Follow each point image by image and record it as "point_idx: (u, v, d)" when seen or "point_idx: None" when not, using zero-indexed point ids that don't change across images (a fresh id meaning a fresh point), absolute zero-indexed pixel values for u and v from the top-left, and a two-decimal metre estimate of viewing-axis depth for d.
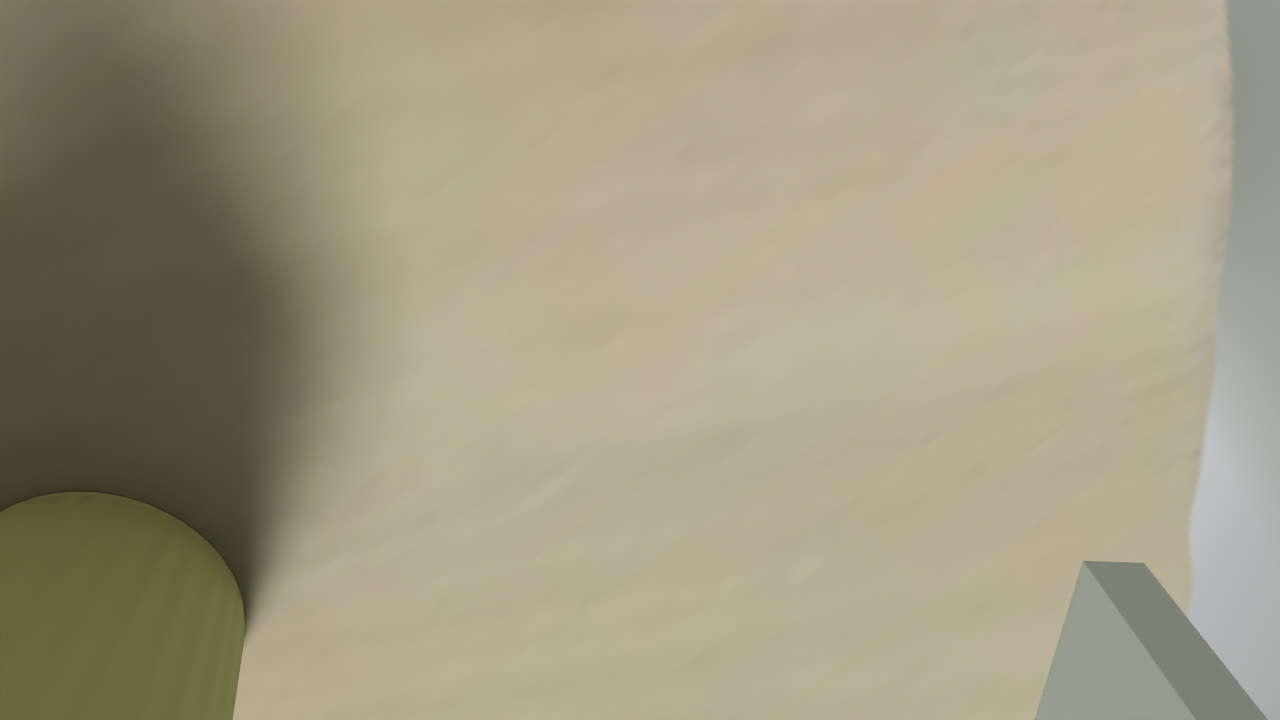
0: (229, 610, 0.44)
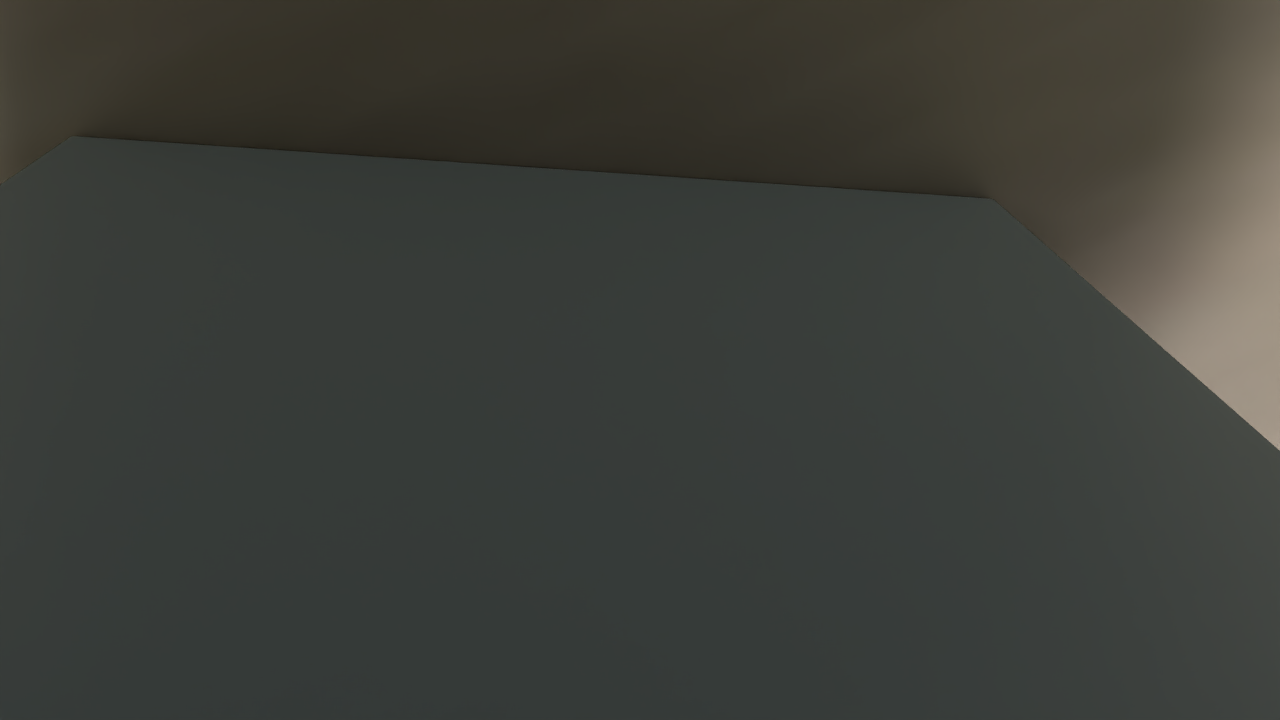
0: None
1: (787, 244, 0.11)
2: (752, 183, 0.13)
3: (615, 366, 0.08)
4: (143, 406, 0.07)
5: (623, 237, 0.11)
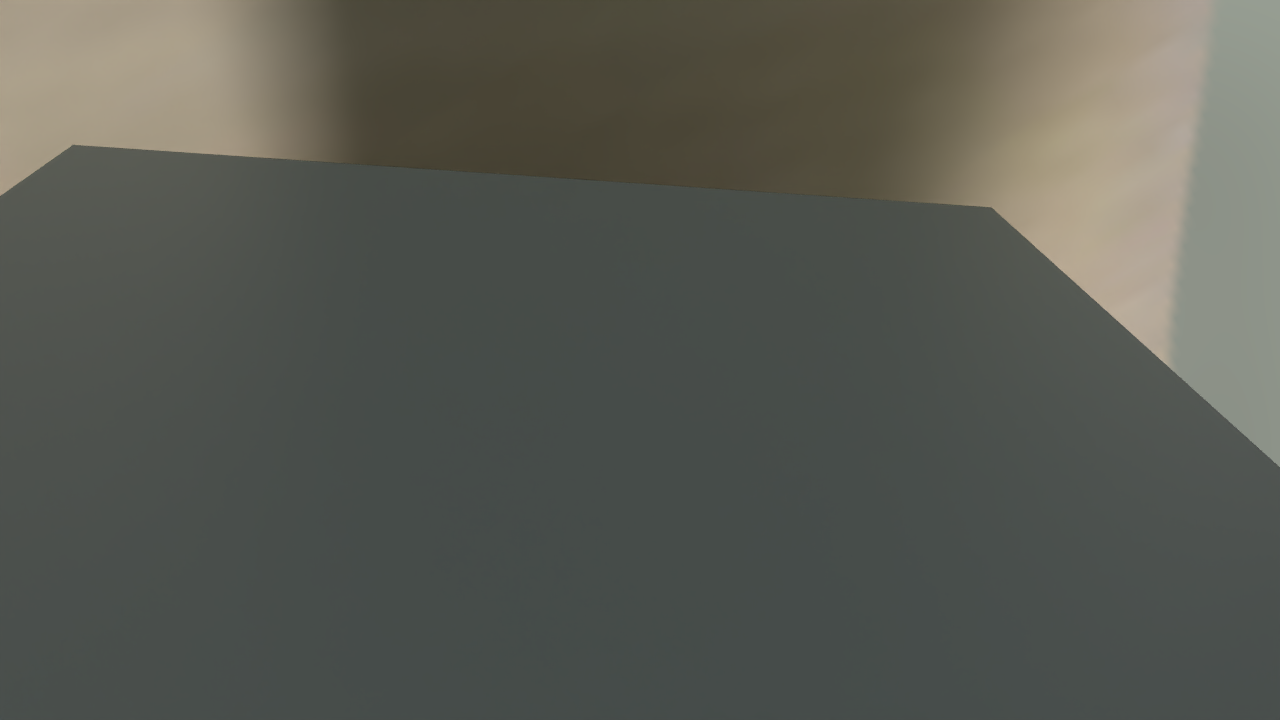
0: None
1: (786, 254, 0.11)
2: (751, 192, 0.13)
3: (615, 377, 0.08)
4: (145, 420, 0.07)
5: (623, 247, 0.11)
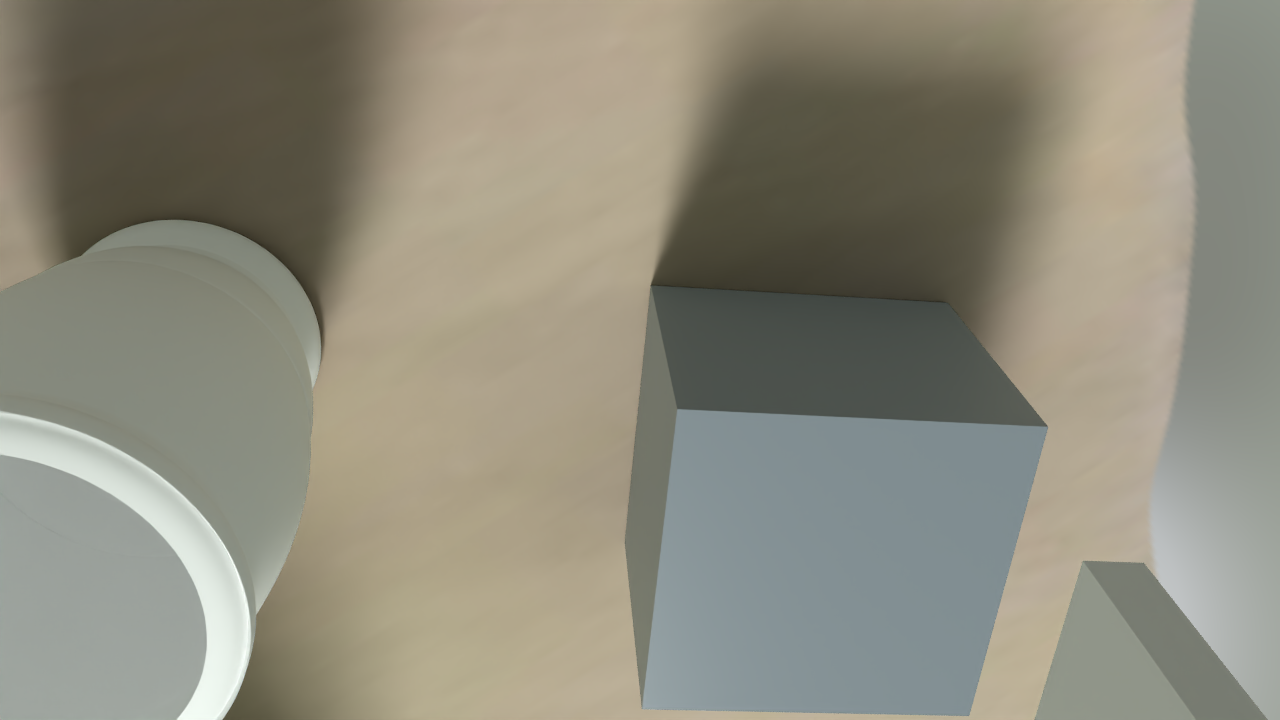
0: None
1: (883, 322, 0.37)
2: (867, 298, 0.39)
3: (849, 358, 0.34)
4: (755, 366, 0.33)
5: (835, 320, 0.37)
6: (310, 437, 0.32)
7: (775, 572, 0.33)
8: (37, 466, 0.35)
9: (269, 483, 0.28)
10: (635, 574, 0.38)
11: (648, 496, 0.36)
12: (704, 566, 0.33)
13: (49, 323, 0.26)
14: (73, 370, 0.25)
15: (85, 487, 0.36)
